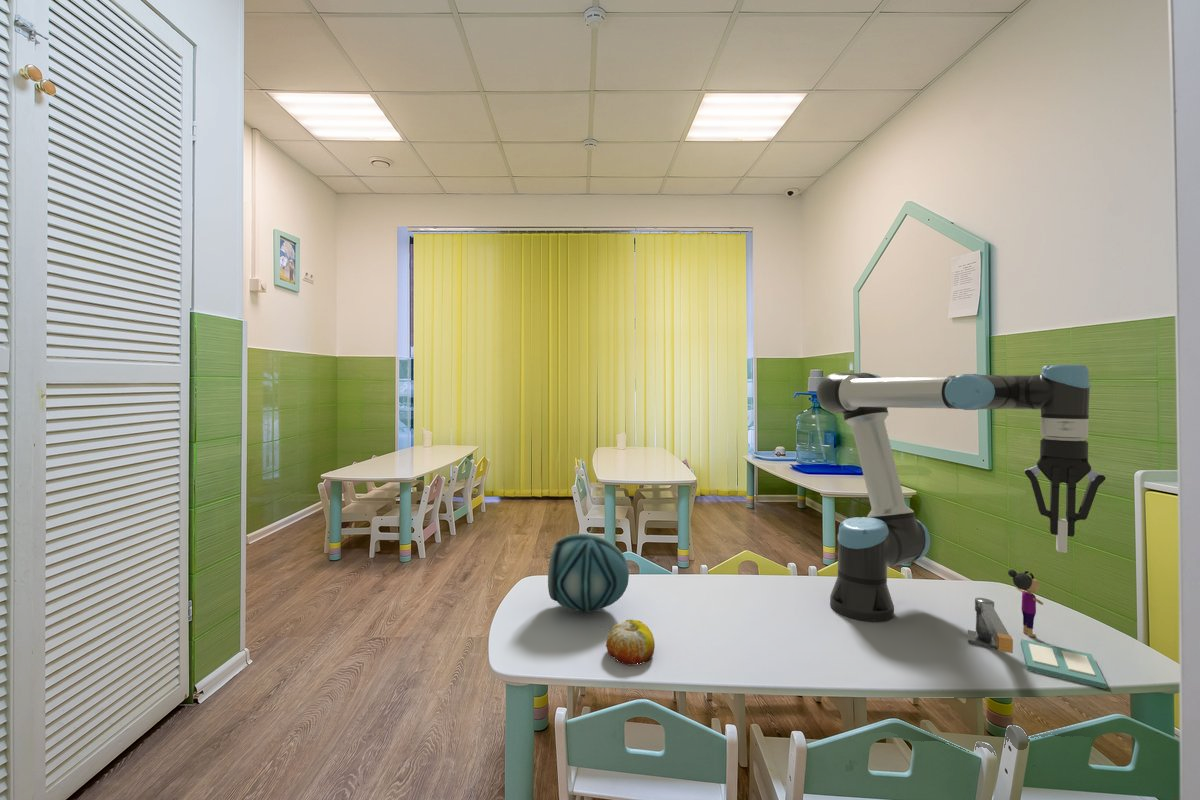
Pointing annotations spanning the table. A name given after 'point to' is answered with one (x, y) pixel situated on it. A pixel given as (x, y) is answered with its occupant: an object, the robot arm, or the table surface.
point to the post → (981, 634)
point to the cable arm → (994, 624)
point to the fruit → (631, 642)
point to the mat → (1062, 663)
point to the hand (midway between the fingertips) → (1061, 550)
